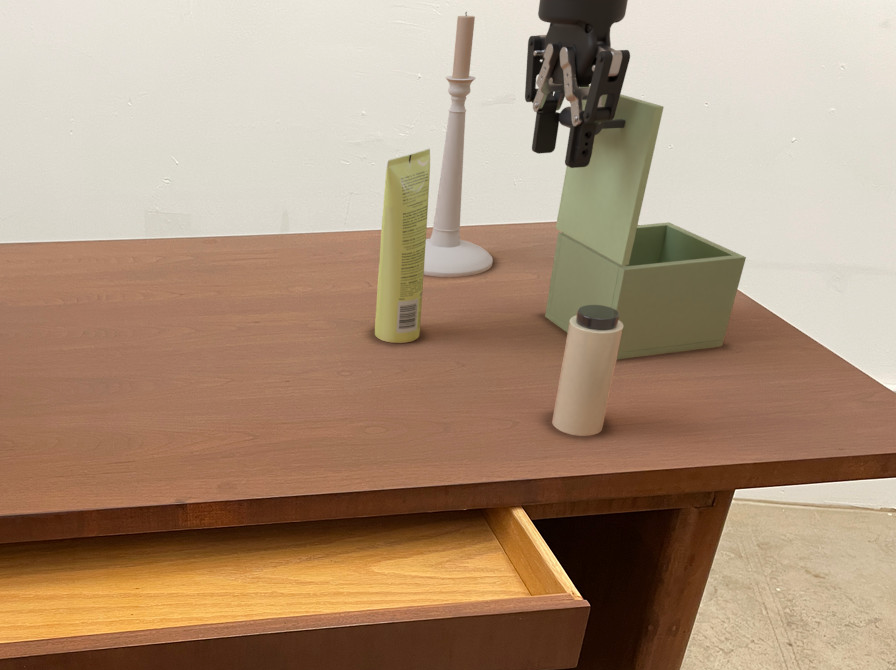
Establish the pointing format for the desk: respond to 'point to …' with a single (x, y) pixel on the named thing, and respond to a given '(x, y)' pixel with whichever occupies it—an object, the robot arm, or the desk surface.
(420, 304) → the tube
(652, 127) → the lid
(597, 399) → the spice bottle
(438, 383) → the desk surface
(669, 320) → the chest
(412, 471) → the desk surface
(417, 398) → the desk surface
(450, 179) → the candlestick
